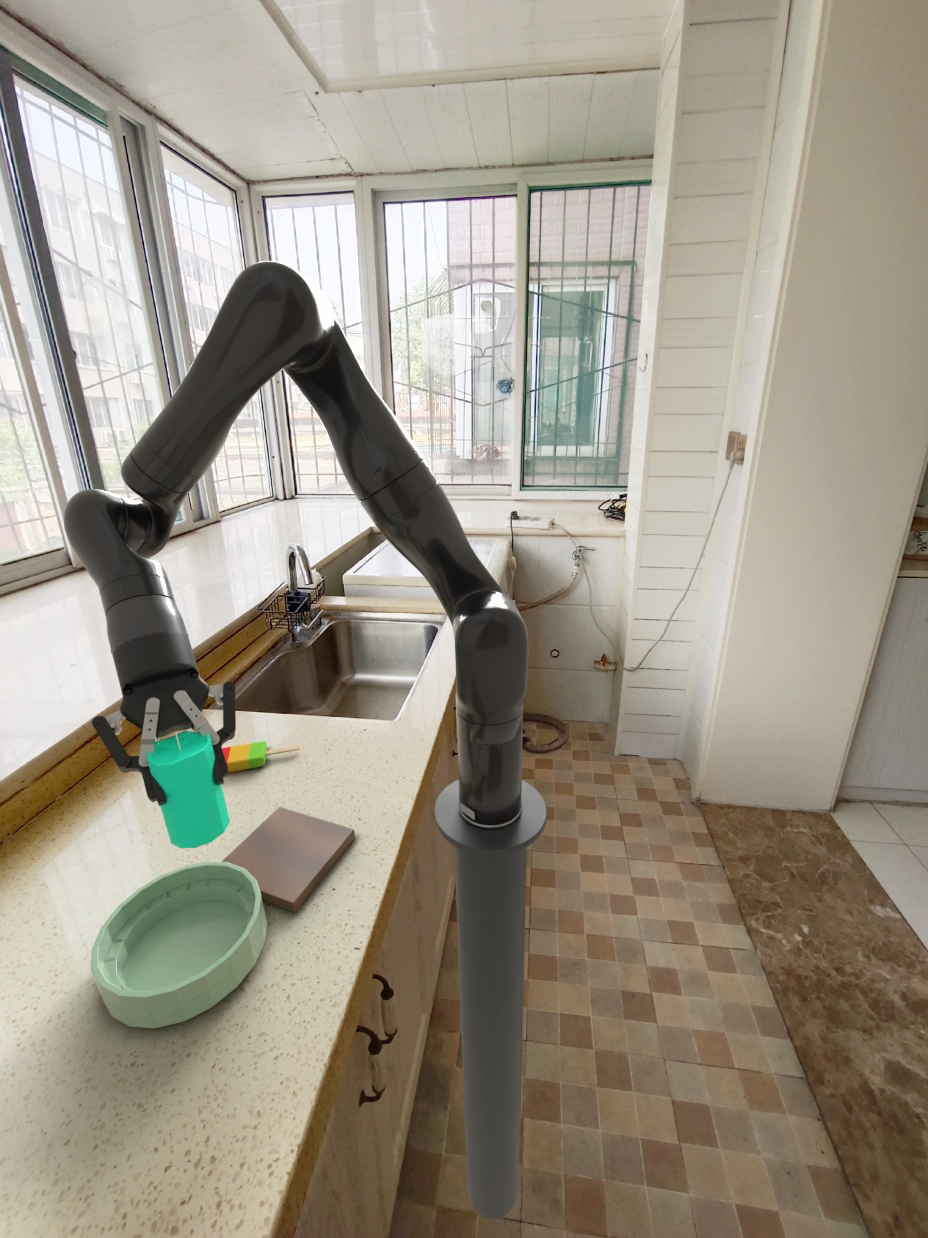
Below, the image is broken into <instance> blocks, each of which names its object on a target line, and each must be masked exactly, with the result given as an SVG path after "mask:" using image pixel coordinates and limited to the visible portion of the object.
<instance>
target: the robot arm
mask: <svg viewBox="0 0 928 1238" xmlns="http://www.w3.org/2000/svg"><path fill="white" fill-rule="evenodd" d="M210 327H211V328H210V329H209V332H208V334H207V336H206V338H205V340H204V342H203V343H202V345H201V347H200V349H199V351H198V353H197V355H196V356H195V358H194V360H193V362H192V364H191V365H190V366H189V369H188V370H187V372H186V374H185V375H184V377H183V379H182V381H181V382H180V384H179V385H178V387H177V388H176V390H175V391H174V393H173V394H172V396H171V397H170V399H169V400H168V401H167V403H166V405H165V406H164V408H163V409H162V410H161V411H160V413H159V414H158V415H157V416H156V418H155V419H154V420H153V422H152V423H151V424H150V426H149V427H148V428H147V429H146V431H145V432H144V433H143V434H142V435H141V437H140V438H139V440H138V441H137V442H136V444H135V445H134V446H133V448H132V450H130V452H129V453H128V454H127V456H126V457H125V459H124V460H123V462H122V464H121V466H120V476H121V478H122V480H123V482H124V483H125V485H126V486H127V487H128V488H129V489H130V490H131V491H132V492H133V493H134V494H135V495H137V496H139V497H140V498H142V499H141V500H135V499H132V498H130V497H126V496H122V495H119V494H116V493H114V492H113V493H112V492H110V491H106V490H102V489H97V488H87V489H83V490H79V491H78V492H76V493H75V494H74V495H72V496H71V498H70V499H69V500H68V501H67V503H66V504H65V508H64V511H63V528H64V532H65V535H66V537H67V541H68V542H69V544H70V546H71V548H72V549H73V551H74V552H75V554H76V556H77V558H78V559H79V560H80V562H81V564H82V565H83V567H84V568H85V570H86V571H87V573H88V575H89V576H90V578H91V579H92V581H93V582H94V583H95V585H96V587H97V588H98V591H99V595H100V600H101V603H102V609H103V612H104V616H105V620H106V621H105V622H106V634H107V639H108V642H109V647H110V653H111V655H112V659H113V664H114V667H115V671H116V675H117V679H118V683H119V686H120V692H121V695H122V700H121V704H120V706H119V709H118V710H116V711H114V712H111V713H110V714H107V715H105V716H103V715H97V716H95V717H94V718H92V720H91V725H92V727H93V728H94V730H95V732H96V734H97V735H98V736H99V738H100V740H101V741H102V743H103V745H104V747H105V748H106V749H107V752H108V753H109V755H110V756H111V758H112V759H113V761H114V763H115V764H116V766H117V767H118V769H119V770H120V772H122V773H124V774H126V773H129V772H130V773H131V772H137V773H140V774H141V776H142V780H143V785H144V789H145V793H146V796H147V798H148V800H149V801H150V802H151V803H156V802H157V805H158V806H159V807H161V805H164V804H166V799H165V796H164V792H163V789H162V787H161V786H160V784H159V783H158V782H157V781H156V779H155V778H154V777H153V776H152V774H151V771H150V768H149V764H148V761H147V752H149V751H150V752H151V753H152V754H153V755H154V750H155V745H156V742H157V741H160V739H161V738H162V737H167V736H169V735H171V734H172V733H175V732H178V731H179V732H180V731H181V732H183V731H188V730H189V729H191V730H192V732H197V733H200V734H201V735H202V736H203V737H204V735H206V734H209V735H210V738H211V742H212V746H213V751H214V755H215V761H214V766H213V772H214V776H215V780H216V785H224V783H225V782H224V778H227V776H228V773H229V772H228V767H227V764H226V760H225V757H224V754H223V751H222V748H223V745H224V744H225V743H227V742H228V741H230V740H231V741H232V740H233V739H234V738H235V736H236V730H237V727H236V725H237V721H236V718H237V717H236V716H237V715H236V684H235V683H234V682H233V681H230V680H229V681H226V682H225V683H224V684H219V685H218V684H217V685H209V684H208V683H207V682H206V681H205V680H203V678H202V676H201V674H200V671H199V667H198V664H197V660H196V658H195V654H194V650H193V648H192V644H191V641H190V638H189V637H190V636H189V633H188V630H187V628H186V624H185V621H184V618H183V617H182V614H181V613H180V611H179V608H178V605H177V603H176V599H175V596H174V593H173V588H172V586H171V583H170V580H169V577H168V574H167V571H166V570H165V568H164V567H163V566H162V565H161V563H159V562H158V561H156V560H155V559H152V557H154V556H155V555H157V554H159V553H160V552H161V551H162V550H164V548H165V547H166V545H167V544H168V541H169V539H170V537H171V534H172V531H173V527H174V525H175V523H176V520H177V518H178V515H179V512H180V510H181V508H182V505H183V503H184V500H185V498H186V497H187V496H188V495H189V493H190V492H191V491H192V490H193V489H194V487H195V486H196V485H197V484H198V483H199V481H200V480H201V479H202V478H203V476H204V475H205V474H206V473H207V472H208V470H209V469H210V467H211V466H212V465H213V464H214V462H215V461H216V459H217V457H218V455H219V454H220V453H221V450H222V449H223V447H224V446H225V443H226V442H227V439H228V437H229V435H230V433H231V431H232V429H233V426H234V424H235V423H236V421H237V419H238V417H239V416H240V415H241V413H242V412H243V410H244V408H245V407H246V406H247V405H248V403H249V402H250V400H252V398H254V396H255V395H256V394H257V393H258V392H259V391H260V390H261V389H262V388H263V387H264V386H265V385H267V383H269V381H271V380H272V379H273V378H274V377H275V376H276V375H278V374H279V373H280V372H281V371H283V372H284V373H285V374H286V375H287V376H288V378H289V379H290V380H291V381H292V382H293V384H295V386H296V387H297V388H298V390H299V391H300V393H301V394H302V395H303V396H304V398H305V399H306V400H307V402H308V403H309V405H310V406H311V407H312V409H313V410H314V412H315V413H316V415H317V417H318V419H319V420H320V422H321V424H322V425H323V428H324V430H325V433H326V435H327V437H328V439H329V442H330V444H331V446H332V450H333V452H334V455H335V457H336V459H337V462H338V464H339V467H340V469H341V471H342V474H343V475H344V478H345V480H346V482H347V484H348V486H349V487H350V490H351V491H352V493H353V494H354V496H355V498H356V500H357V501H359V504H360V506H362V508H363V509H364V511H365V513H366V514H367V516H368V517H369V518H370V520H371V521H372V523H373V524H374V525H375V527H376V528H377V530H378V532H380V534H381V535H382V536H383V537H384V538H385V539H386V540H387V541H388V542H389V544H390V545H391V546H392V547H393V548H394V549H395V550H396V551H397V552H398V553H399V554H400V555H401V556H402V558H404V559H405V560H407V562H409V564H411V565H412V566H413V567H414V568H415V569H416V570H418V573H420V574H421V575H422V576H423V577H424V579H425V580H426V581H427V583H428V585H429V586H430V587H431V589H432V590H433V592H434V594H435V595H436V597H437V598H438V600H439V602H440V604H441V605H442V608H443V609H444V611H445V613H446V615H447V618H448V620H449V621H450V625H451V626H452V630H453V631H452V632H453V638H454V656H455V657H454V659H455V685H456V687H455V712H456V740H457V742H456V744H457V772H458V780H459V813H460V815H461V817H462V818H463V819H464V821H466V822H467V823H468V824H470V825H471V826H473V827H476V828H479V829H484V830H498V829H503V828H506V827H508V826H510V825H512V824H513V823H515V822H516V821H517V820H518V819H519V817H520V815H521V812H522V802H521V792H522V780H523V739H524V738H523V737H524V736H523V735H524V734H523V733H524V730H523V729H524V701H525V697H526V695H527V687H528V671H529V670H528V669H529V668H528V667H529V665H528V664H529V634H528V628H527V626H526V623H525V621H524V619H523V617H522V615H521V613H520V611H519V609H518V607H517V605H516V603H515V602H514V601H513V600H512V599H511V597H510V596H509V595H508V594H507V593H506V592H505V591H504V589H503V588H502V587H501V585H500V584H499V583H498V582H497V580H496V579H495V578H494V577H493V575H492V574H491V572H490V571H489V570H488V569H487V567H486V566H485V565H484V564H483V563H482V561H481V560H480V558H479V557H478V555H477V554H476V552H475V551H474V549H473V547H472V545H471V544H470V542H469V540H468V537H467V535H466V533H465V531H464V529H463V525H462V524H461V521H460V520H459V518H458V515H457V514H456V512H455V509H454V507H453V506H452V504H451V501H450V499H449V498H448V497H447V494H446V492H445V490H444V489H443V487H442V486H441V484H440V482H439V481H438V478H437V477H436V475H435V473H434V472H433V471H432V469H431V467H430V466H429V464H428V462H427V461H426V459H425V458H424V456H423V454H422V453H421V452H420V450H419V448H418V447H417V446H416V444H415V443H414V441H413V439H412V438H411V437H410V435H409V434H408V432H407V431H406V430H405V428H404V427H403V426H402V424H401V423H400V421H399V419H398V418H397V417H396V415H395V414H394V413H393V412H392V410H391V409H390V408H389V406H388V405H387V404H386V402H385V401H384V400H383V399H382V397H381V396H380V395H379V393H378V392H377V391H376V389H375V388H374V386H373V385H372V383H371V381H370V380H369V378H368V377H367V375H366V373H365V371H364V369H363V368H362V366H361V364H360V361H359V360H358V358H357V356H356V354H355V352H354V350H353V348H352V346H351V344H350V342H349V341H348V339H347V336H346V334H345V333H344V330H343V329H342V326H341V324H340V322H339V319H338V318H337V316H336V314H335V312H334V310H333V308H332V306H331V304H330V302H329V300H328V297H326V295H325V294H324V292H323V291H322V289H321V288H320V287H319V286H318V285H317V284H315V282H313V280H311V279H309V278H308V277H307V276H306V275H304V274H303V273H301V272H300V271H298V270H296V269H295V268H294V267H292V266H290V265H288V264H285V263H282V262H280V261H276V260H275V261H273V260H263V261H257V262H255V263H252V264H249V265H248V266H246V268H244V269H243V270H242V271H240V273H239V274H238V275H237V277H236V278H235V280H234V281H233V283H232V284H231V287H230V289H229V290H228V292H227V294H226V295H225V298H224V300H223V302H222V304H221V306H220V308H219V310H218V313H217V315H216V317H215V319H214V321H213V323H212V325H211V326H210ZM209 697H212V698H213V699H214V702H215V704H216V705H218V706H222V727H221V728H219V729H218V730H217V731H215V729H214V727H212V725H211V724H210V722H209V721H208V719H207V718H206V716H205V715H204V714H203V713H202V712H203V710H204V708H205V705H206V704H207V701H208V699H209ZM124 721H127V722H128V723H130V724H132V725H133V726H135V727H136V728H137V729H140V730H141V739H140V750H139V755H129V753H128V752H127V750H126V749H125V747H124V745H123V744H122V742H121V741H120V739H119V738H118V736H119V735H120V734H121V733H122V731H123V727H122V723H123V722H124Z"/></svg>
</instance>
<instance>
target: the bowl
mask: <svg viewBox="0 0 928 1238" xmlns="http://www.w3.org/2000/svg"><path fill="white" fill-rule="evenodd" d="M267 927H268V921H267V916H266V911H265V906H264V900H262V896H261V893H260V890H259V886H258V883H257V880H256V879H255V878H254V877H253V876H252V875H251V874H250V873H249V872H248V871H247V870H246V869H245V868H242V867H239V866H237V865H234V864H231V863H228V862H222V861H204V862H198V863H194V864H187V865H184V866H181V867H179V868H176V869H173V870H171V871H168V872H166V873H163V874H161V875H159V876H157V877H156V878H154V879H152V880H151V881H149V882H148V883H146V884H144V885H143V886H140V887H139V888H137V889H136V890H135V891H134V892H133V893H132V894H130V895H129V896H128V897H127V898H126V899H125V900H123V901H122V902H121V903H120V904H118V906H116V908H115V909H114V911H113V912H112V913H111V914H110V915H109V916H108V918H107V919H106V921H105V922H104V923H103V924H102V926H101V927H100V929H99V931H98V933H97V936H96V938H95V940H94V943H93V945H92V948H91V957H90V971H91V974H92V976H93V979H94V981H95V984H96V987H97V990H98V992H99V995H100V997H101V1000H102V1002H103V1003H104V1005H105V1007H106V1009H107V1011H108V1013H109V1015H110V1017H112V1018H113V1019H115V1020H117V1021H119V1022H121V1023H122V1024H124V1025H127V1027H130V1028H131V1027H132V1028H144V1029H158V1028H162V1027H167V1026H171V1025H174V1024H175V1025H176V1024H179V1023H184V1022H186V1021H189V1020H190V1019H192V1018H193V1017H196V1016H198V1015H200V1014H202V1013H204V1012H206V1011H208V1010H209V1009H211V1008H213V1007H214V1006H216V1005H217V1004H218V1003H219V1002H221V1001H222V1000H223V999H224V998H226V997H227V996H229V994H230V993H232V992H233V991H234V990H235V989H237V988H238V987H239V986H240V984H241V983H242V981H243V980H244V979H245V978H246V977H247V976H248V974H249V973H250V972H251V970H252V969H253V968H254V967H255V965H256V963H257V960H258V958H259V956H260V955H261V952H262V950H263V947H264V945H265V943H266V935H267Z"/></svg>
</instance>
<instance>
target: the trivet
mask: <svg viewBox="0 0 928 1238" xmlns="http://www.w3.org/2000/svg"><path fill="white" fill-rule="evenodd" d="M355 839H356V832H355V829H354V828H352V827H351V828H350V827H348V826H345V825H341V824H337V823H335V822H332V821H329V820H324V819H321V818H318V817H315V816H311V815H308V814H305V813H301V812H298V811H294V810H291V809H288V808H284V807H282V806H279V807H277V809H276V810H275V811H273V812H272V813H271V814H270V815H269V816H268V817H267V818H266V819H265V820H264V821H263V822H262V823H260V825H259V826H258V827H256V828H255V829H254V831H252V832H251V833H249V835H248V836H247V837H246V838H245V839H244V840H243V841H242V842H241V843H240V844H238V846H236V847H235V849H233V850H232V851H231V852H230V853H229V854H228V855H227V856H226V857H225V858H224V859H223V860H222V861H221V862H228V863H231V864H234V865H237V866H239V867H242V868H245V869H246V870H247V871H248V872H249V873H250V874H251V875H252V876H253V877H254V878H255V879H256V880H257V883H258V886H259V890H260V893H261V896H262V901H263V902H267V903H269V904H272V905H274V906H277V907H279V908H283V909H285V910H287V911H290V912H292V913H296V912H297V911H298V910H299V908H300V907H301V906H302V905H303V903H304V902H305V901H306V899H308V897H309V896H310V895H311V893H312V892H313V891H314V890H315V889H316V887H317V886H318V885H319V883H320V882H321V881H322V880H323V879H324V877H325V876H326V875H327V874H328V872H329V871H330V870H331V868H332V867H333V866H334V865H335V864H336V862H337V861H338V860H339V858H340V857H341V856H342V855H343V854H344V853H345V851H346V850H347V849H348V848H349V846H350V845H351V844H352V842H353V841H354V840H355Z"/></svg>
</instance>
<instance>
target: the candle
mask: <svg viewBox="0 0 928 1238" xmlns="http://www.w3.org/2000/svg"><path fill="white" fill-rule="evenodd" d="M174 733H175V734H174V735H171V736H168V737H166V738H163V739H159V741H157V742H156V745H155V750H154V755H153V754H152V753H151V752H150V751H149V752H147V761H148V764H149V768H150V771H151V774H152V776H153V777H154V778H155V779H156V781H157V782H158V783H159V784H160V786H161V787H162V789H163V792H164V796H165V799H166V804H164V805H161V806H160V809H161V813H162V816H163V820H164V823H165V827H166V831H167V835H168V837H169V840H170V844H172V845H174V846H175V847H177V848H179V849H196V848H200V847H202V846H204V845H205V846H206V845H208V844H210V843H212V842H214V841H215V840H216V839H218V838H219V837H220V836H222V835H223V834H224V833H225V832H226V830H227V828H228V827H229V825H230V823H231V820H230V817H229V816H230V815H229V812H228V807H227V804H226V798H225V795H224V789H223V787H222V785H223V784H221V785H216V780H215V776H214V772H213V766H214V761H215V755H214V751H213V746H212V742H211V738H210V735H209V734H206V735H204V737H203V736H202V735H201V734H200V733H197V732H194V731H189V730H182V731H181V732H179V733H178V732H174Z"/></svg>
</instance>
